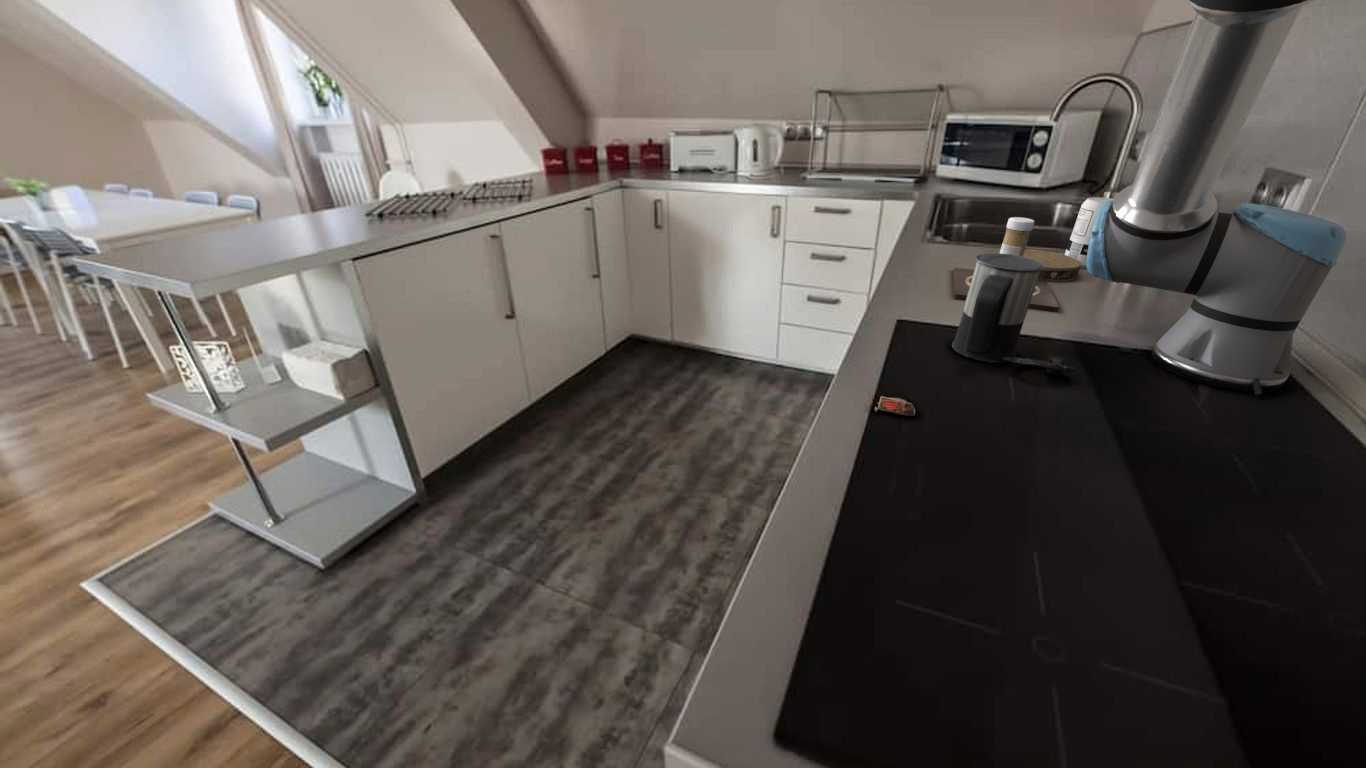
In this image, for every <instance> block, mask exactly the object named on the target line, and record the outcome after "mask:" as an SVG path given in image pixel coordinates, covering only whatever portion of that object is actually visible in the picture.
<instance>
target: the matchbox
mask: <svg viewBox="0 0 1366 768" xmlns="http://www.w3.org/2000/svg"><path fill="white" fill-rule="evenodd" d="M879 398H880V399H879V402H877V404H878V406H875V407H874V411H875V412H877V411H878V410H880V411H883V412H884V411H885V412H891V413H894V414H898V415H903V416H908V417H909V416H910V417H914V416H915V415H916V409H915V406H914V405H913V403H911V402H908V401H907V400H906V399H902V398H901V397H886V396H882V395H881V396H880V397H879Z"/></svg>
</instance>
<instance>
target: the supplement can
mask: <svg viewBox="0 0 1366 768" xmlns="http://www.w3.org/2000/svg"><path fill="white" fill-rule="evenodd" d="M1114 199H1115V198H1110V197H1101V196H1100V197H1099V196H1098V197H1097V196H1094V197H1092V196H1091V197H1087V198H1086V200H1085V201H1083V203H1082V204H1081V205H1080V208H1079V211H1078V215H1077V216H1076V217H1077V218H1076V220H1075V223H1074V226H1073V229H1072V232H1071V235H1070V237H1069V241H1068V243H1067V247H1066V249H1065V253H1064V255H1066V256H1070V257H1072V258H1075V259H1077V260H1078V261H1080V262H1081V267H1080V269H1087V263H1086V262H1087V253H1088V247H1089V242H1090V238H1091V235H1092V231H1093V226H1094V223H1095V220H1096V217H1097V214H1098V212H1099V209H1100V207H1101V206H1102V204H1103V203H1104V202H1106V201H1112V200H1114Z"/></svg>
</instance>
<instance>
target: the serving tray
mask: <svg viewBox="0 0 1366 768" xmlns="http://www.w3.org/2000/svg"><path fill="white" fill-rule="evenodd" d="M974 270H975V269H972V268H963V267H953V270H952V273H953V274H952V275H953V291H954V293H953V294H954V300H962V301H966V299H967V295H968V292H969V288H970V284H971V281H972V277H973V274H974ZM1028 309H1032V310H1037V311H1046V312H1052V313H1053V312H1054V313H1058V312H1059V309H1060V305H1059V304H1058V301H1057V300H1056V297H1055V296H1054V294H1053V293H1052V291H1051V288H1050V287H1049V285H1048V283H1047V281H1045V279H1044V278H1042V277H1038V280H1037V283H1036V286H1035V289H1034V293H1033V295H1032V298H1031V301H1030V304H1029V307H1028Z"/></svg>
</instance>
